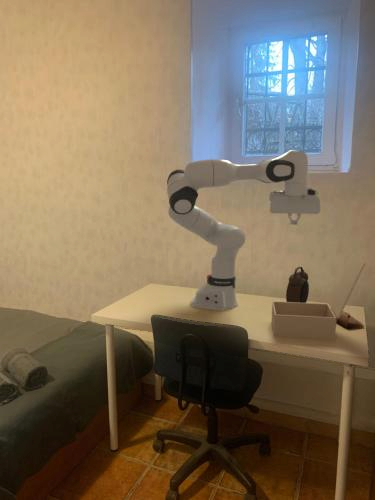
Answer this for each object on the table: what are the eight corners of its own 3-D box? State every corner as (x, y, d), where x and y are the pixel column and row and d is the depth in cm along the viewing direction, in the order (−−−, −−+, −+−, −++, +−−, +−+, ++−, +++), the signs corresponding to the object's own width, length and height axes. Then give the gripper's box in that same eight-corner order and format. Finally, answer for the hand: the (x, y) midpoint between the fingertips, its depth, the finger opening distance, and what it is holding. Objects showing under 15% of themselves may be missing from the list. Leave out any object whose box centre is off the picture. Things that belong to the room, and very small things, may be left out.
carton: (273, 339, 144) (274, 314, 142) (271, 324, 159) (272, 301, 158) (334, 343, 140) (336, 318, 139) (326, 327, 156) (327, 303, 154)
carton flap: (364, 263, 133) (365, 263, 133) (351, 253, 149) (353, 254, 149) (337, 317, 138) (338, 318, 138) (328, 303, 154) (329, 303, 154)
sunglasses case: (366, 325, 153) (358, 314, 151) (353, 337, 153) (345, 325, 151) (340, 310, 171) (332, 300, 169) (328, 320, 170) (320, 310, 169)
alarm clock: (299, 315, 170) (301, 271, 166) (283, 311, 174) (286, 269, 170) (310, 306, 181) (312, 265, 178) (295, 303, 186) (297, 263, 182)
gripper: (270, 191, 155) (268, 224, 158) (322, 191, 152) (320, 225, 155) (269, 190, 161) (268, 223, 164) (319, 190, 158) (317, 223, 161)
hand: (293, 224), depth 159 cm, fingers closed
